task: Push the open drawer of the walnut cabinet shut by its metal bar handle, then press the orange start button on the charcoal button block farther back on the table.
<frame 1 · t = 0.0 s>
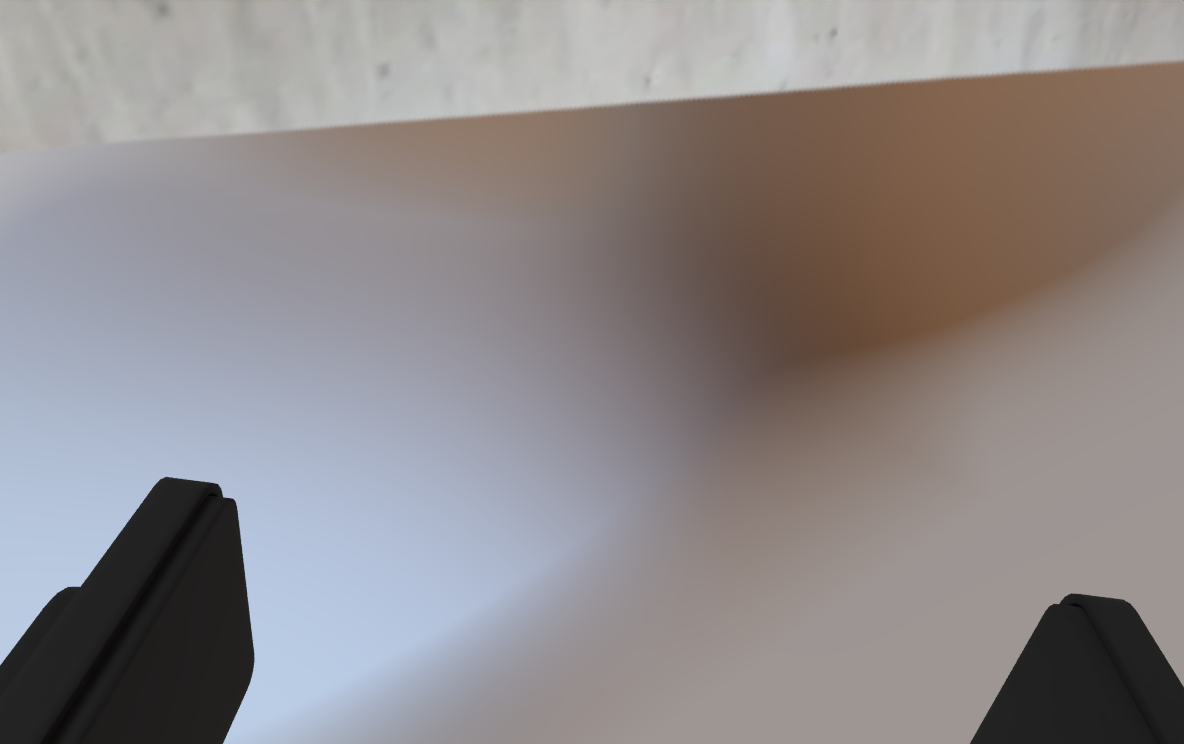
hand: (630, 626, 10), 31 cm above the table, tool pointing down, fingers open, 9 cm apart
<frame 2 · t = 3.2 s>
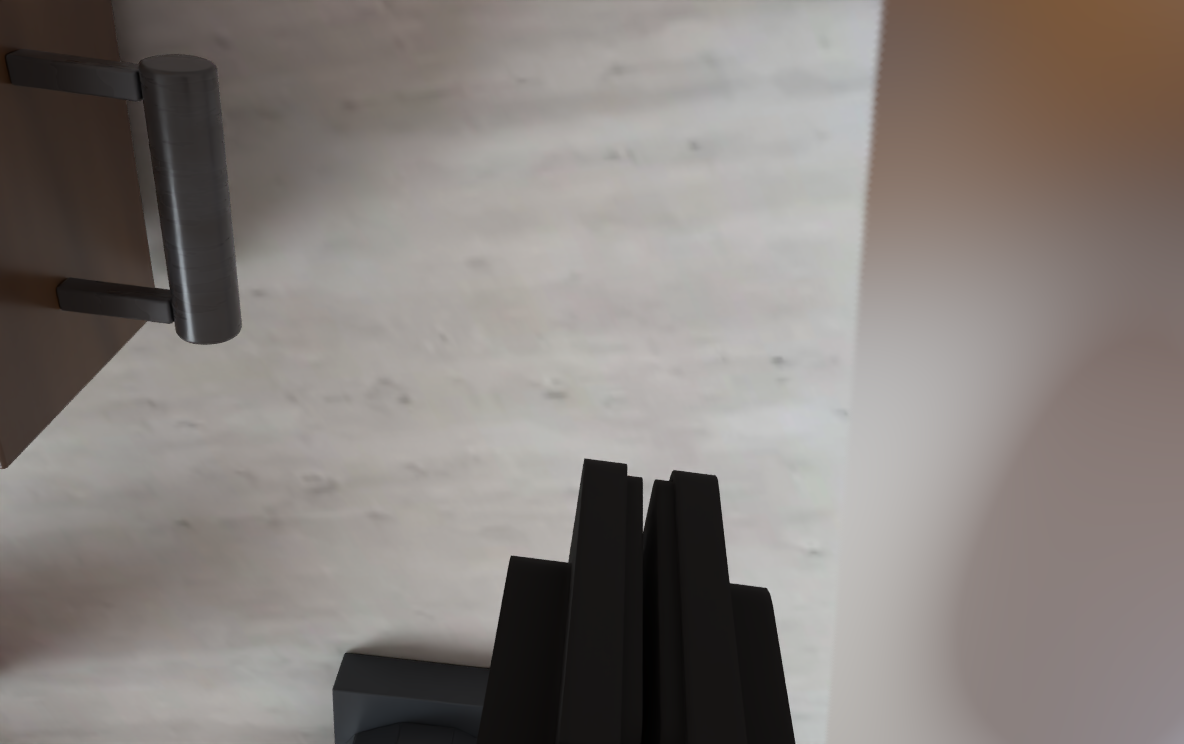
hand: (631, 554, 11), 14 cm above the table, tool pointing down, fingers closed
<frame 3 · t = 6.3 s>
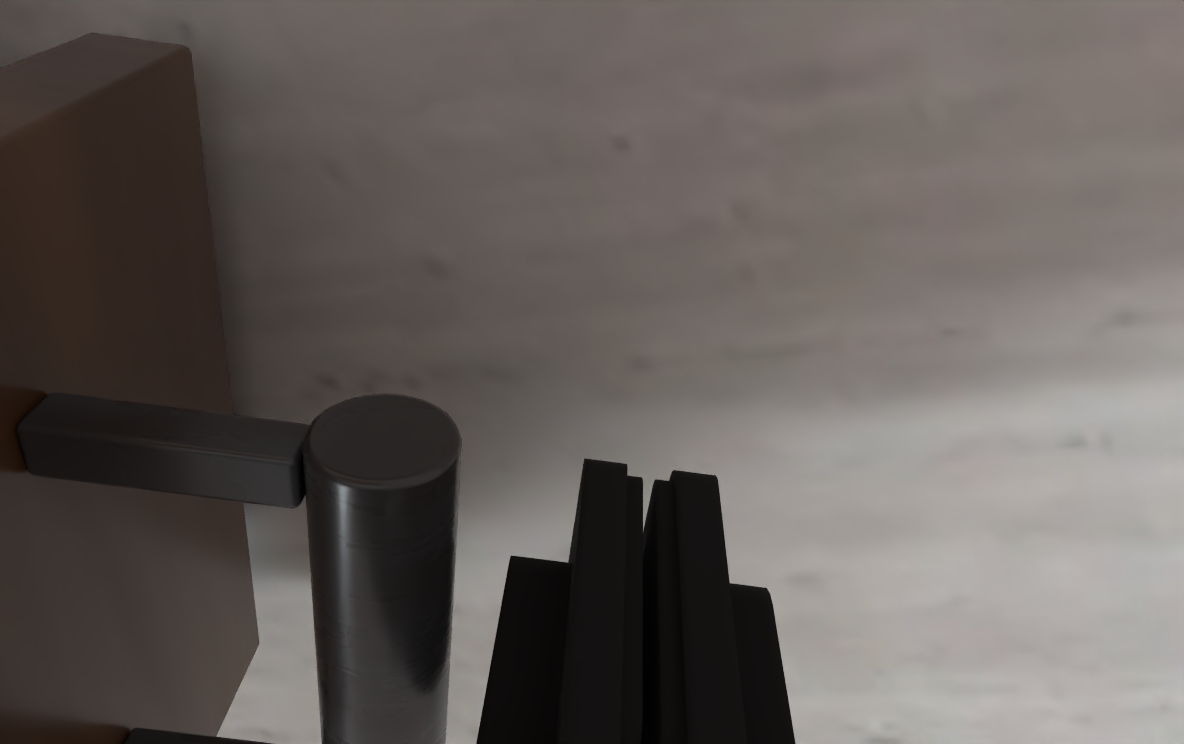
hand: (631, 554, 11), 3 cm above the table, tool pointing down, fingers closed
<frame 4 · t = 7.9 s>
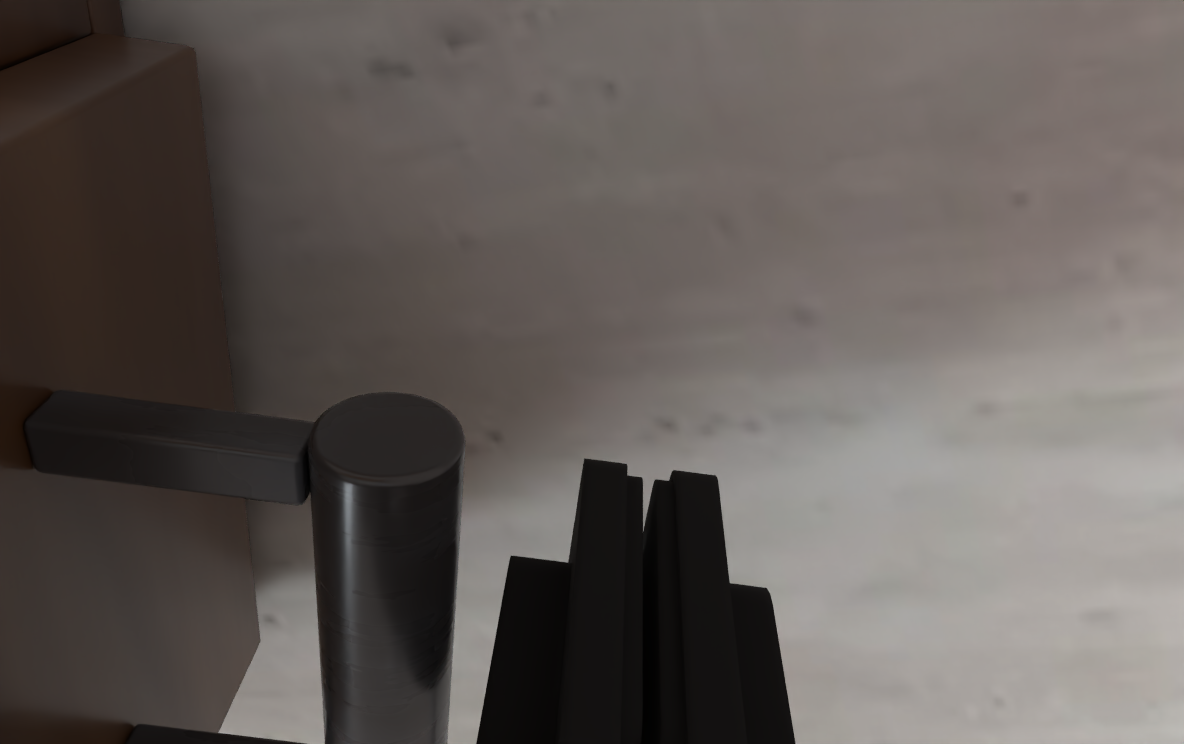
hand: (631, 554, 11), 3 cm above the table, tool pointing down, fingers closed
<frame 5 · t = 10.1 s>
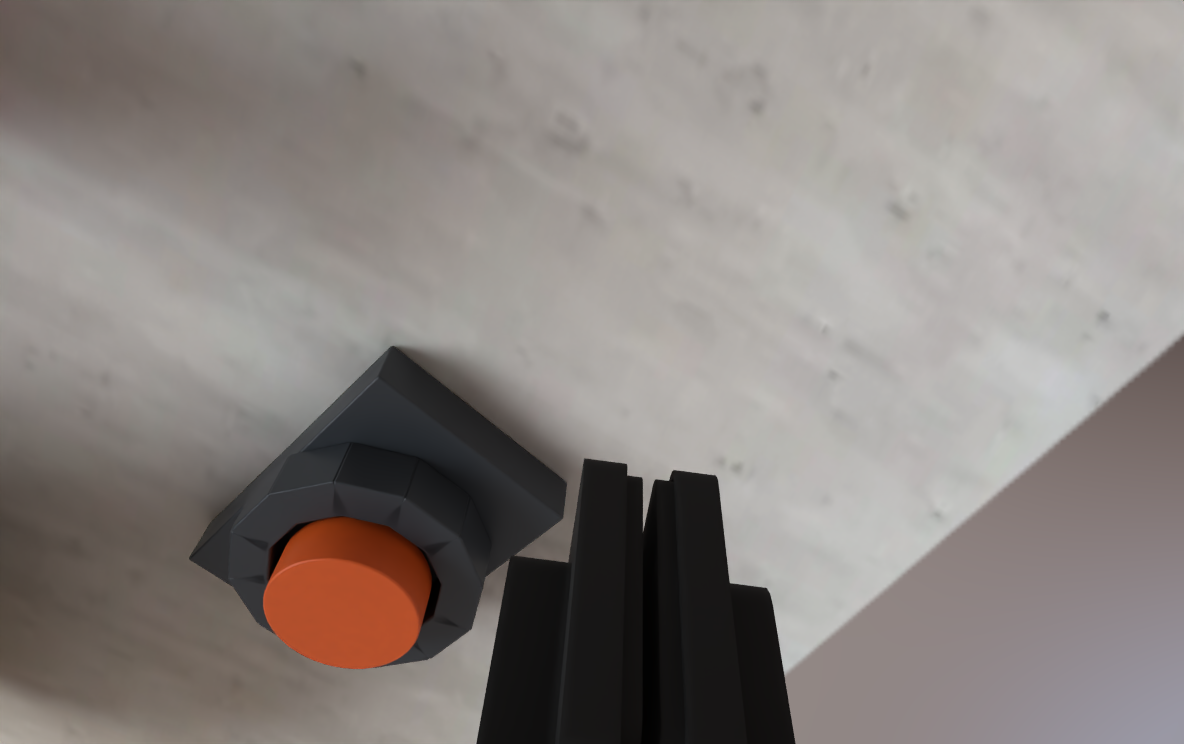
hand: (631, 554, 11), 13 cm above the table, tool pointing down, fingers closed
button block: (383, 503, 29), on the table
start button: (350, 593, 25), point 4 cm above the table, slide at 0.1 cm
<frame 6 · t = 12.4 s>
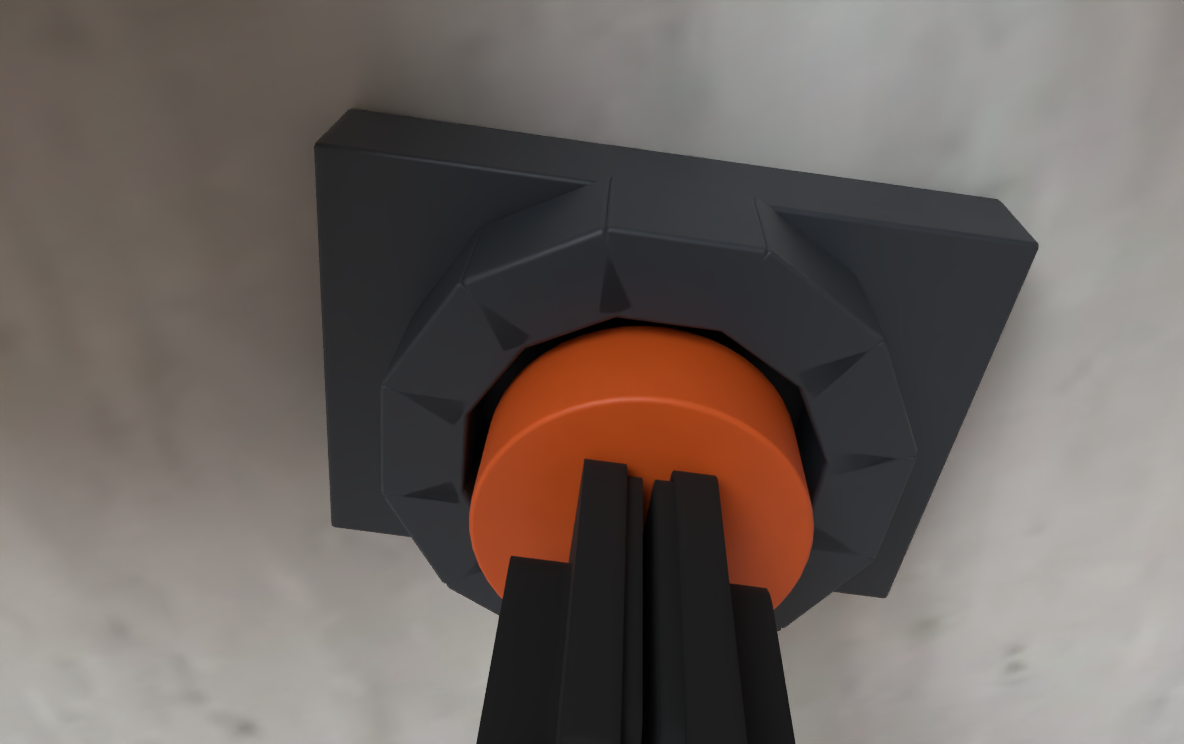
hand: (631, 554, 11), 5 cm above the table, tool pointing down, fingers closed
button block: (641, 348, 15), on the table
start button: (639, 496, 12), point 4 cm above the table, slide at 0.0 cm, touching gripper
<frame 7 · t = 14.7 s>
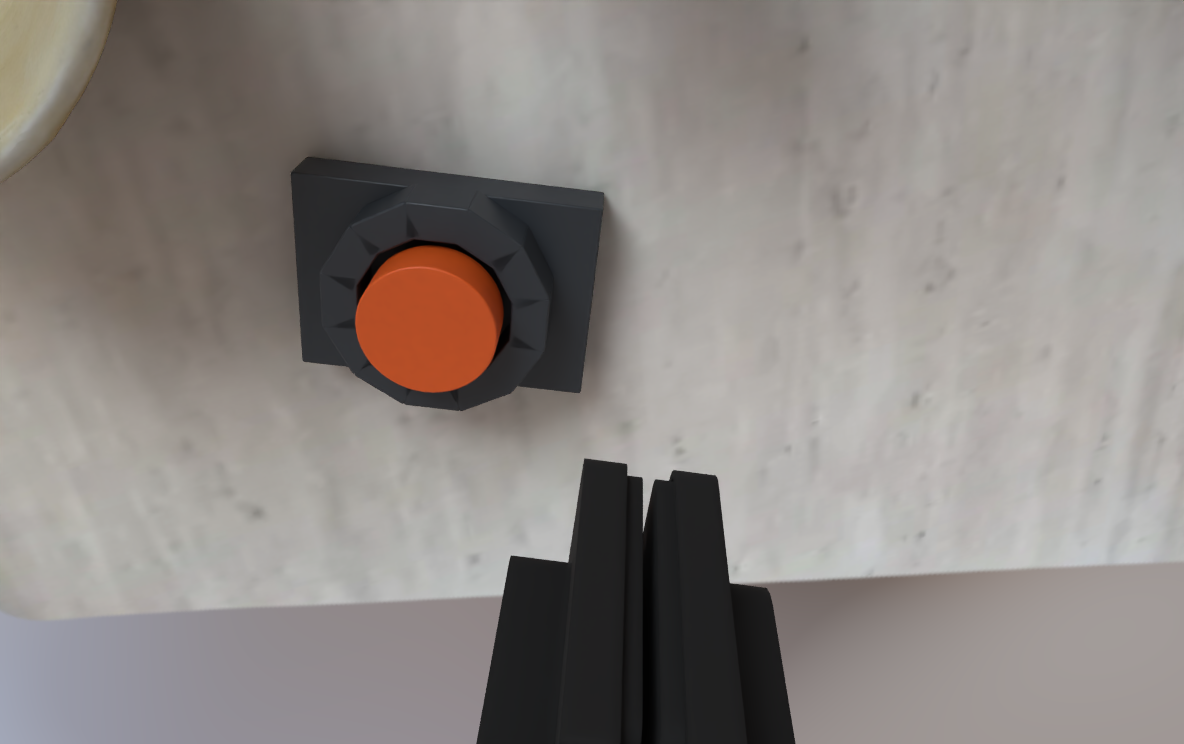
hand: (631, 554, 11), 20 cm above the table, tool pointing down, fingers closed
button block: (453, 269, 31), on the table
start button: (431, 319, 28), point 4 cm above the table, slide at 0.1 cm
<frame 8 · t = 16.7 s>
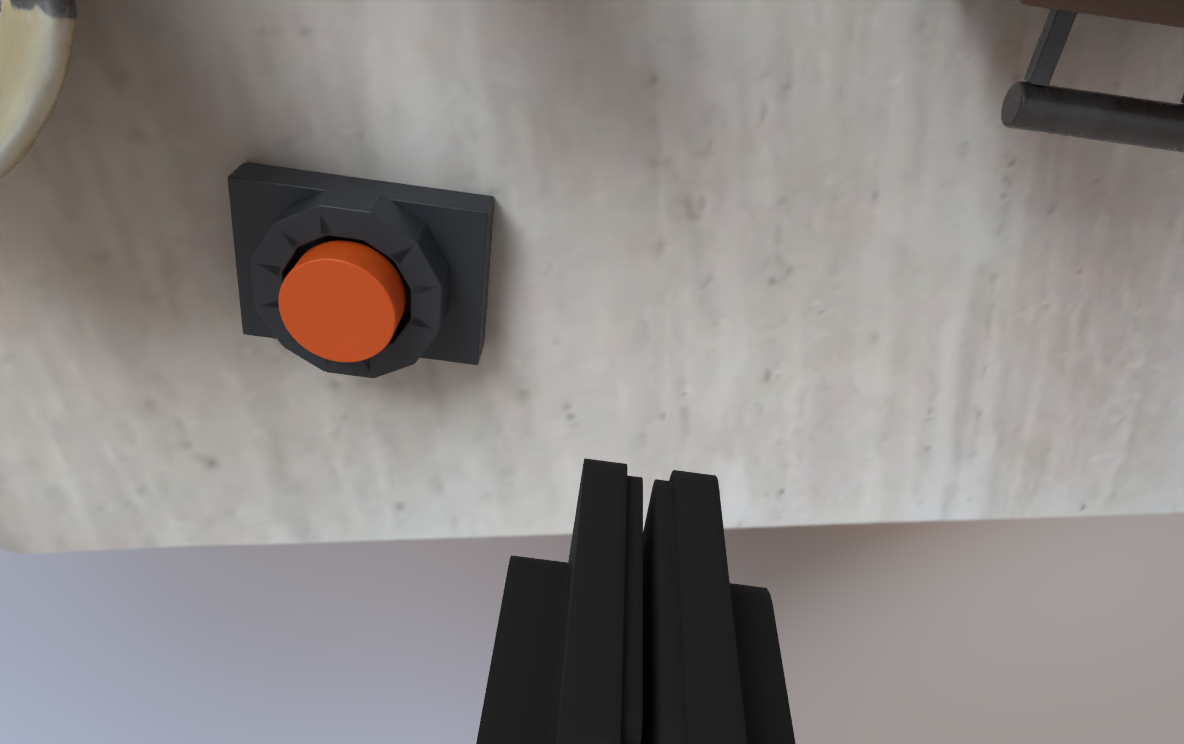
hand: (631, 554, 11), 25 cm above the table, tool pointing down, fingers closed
button block: (370, 258, 37), on the table
start button: (343, 302, 34), point 4 cm above the table, slide at 0.1 cm
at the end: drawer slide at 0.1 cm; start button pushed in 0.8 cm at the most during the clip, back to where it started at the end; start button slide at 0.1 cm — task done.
